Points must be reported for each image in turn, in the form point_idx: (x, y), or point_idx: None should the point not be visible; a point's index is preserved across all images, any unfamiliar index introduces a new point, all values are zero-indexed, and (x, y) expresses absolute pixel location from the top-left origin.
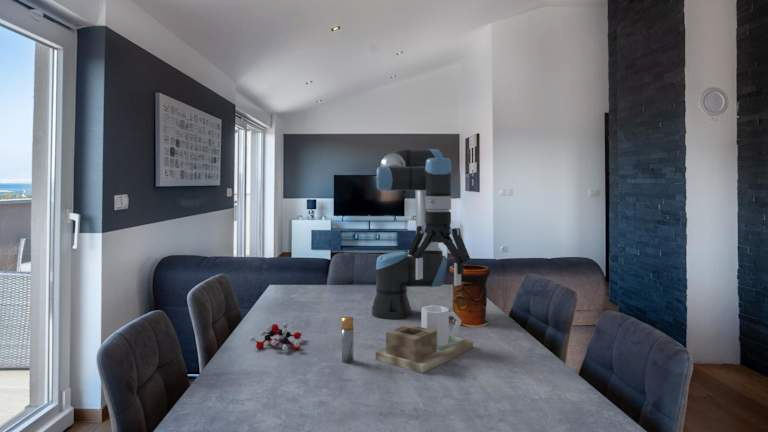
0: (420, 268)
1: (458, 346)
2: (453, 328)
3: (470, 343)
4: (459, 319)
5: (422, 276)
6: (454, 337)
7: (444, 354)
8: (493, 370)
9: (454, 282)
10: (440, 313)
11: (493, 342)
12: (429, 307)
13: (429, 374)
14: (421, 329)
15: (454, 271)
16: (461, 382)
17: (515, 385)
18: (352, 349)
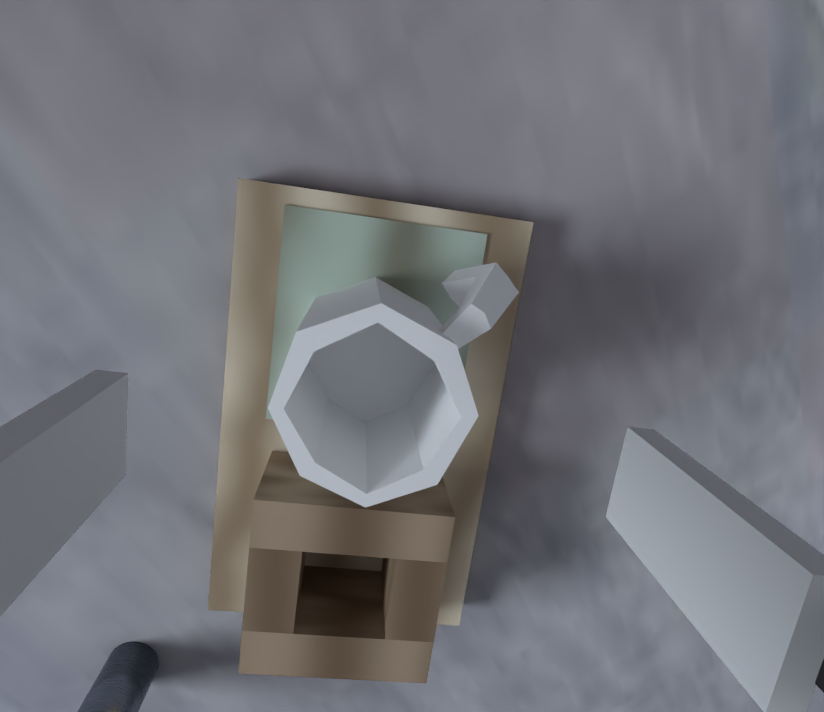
0: (59, 481)
1: (498, 345)
2: (452, 283)
3: (526, 248)
4: (510, 302)
5: (116, 386)
6: (430, 230)
7: (483, 474)
8: (678, 438)
9: (626, 536)
10: (447, 464)
11: (593, 76)
12: (305, 367)
13: (479, 597)
14: (372, 541)
15: (694, 619)
16: (603, 594)
17: None
18: (138, 702)
